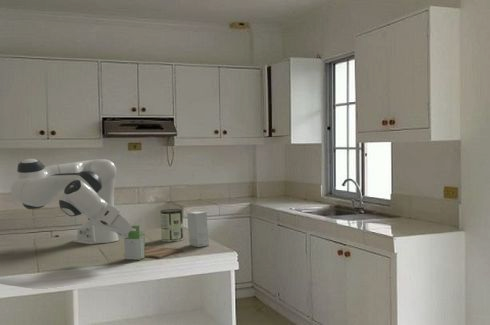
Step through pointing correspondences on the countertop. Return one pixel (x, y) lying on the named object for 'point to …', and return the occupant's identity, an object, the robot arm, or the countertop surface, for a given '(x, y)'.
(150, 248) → the walnut board
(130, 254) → the ink box
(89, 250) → the countertop surface
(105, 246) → the countertop surface
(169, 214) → the coffee can
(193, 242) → the skincare box
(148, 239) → the countertop surface
